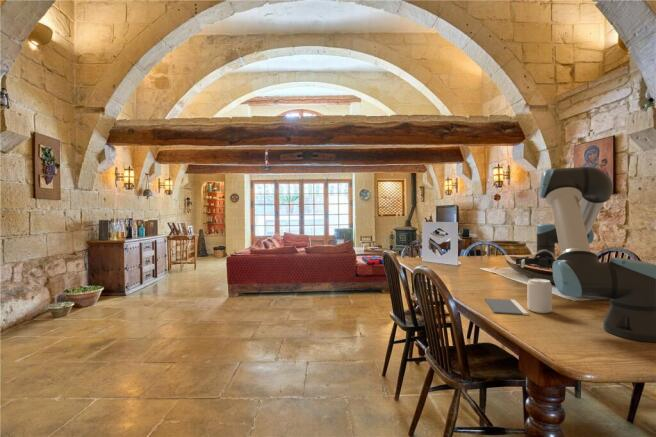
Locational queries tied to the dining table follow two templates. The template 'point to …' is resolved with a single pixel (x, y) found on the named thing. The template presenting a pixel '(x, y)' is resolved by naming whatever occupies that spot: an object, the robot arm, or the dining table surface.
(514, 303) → the mat
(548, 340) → the dining table surface
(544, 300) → the beverage can
